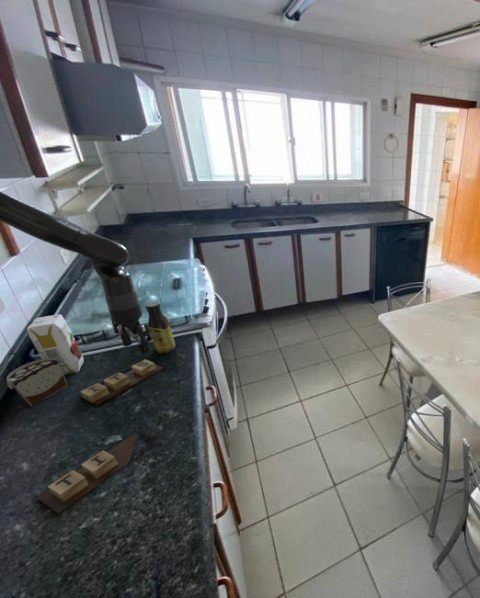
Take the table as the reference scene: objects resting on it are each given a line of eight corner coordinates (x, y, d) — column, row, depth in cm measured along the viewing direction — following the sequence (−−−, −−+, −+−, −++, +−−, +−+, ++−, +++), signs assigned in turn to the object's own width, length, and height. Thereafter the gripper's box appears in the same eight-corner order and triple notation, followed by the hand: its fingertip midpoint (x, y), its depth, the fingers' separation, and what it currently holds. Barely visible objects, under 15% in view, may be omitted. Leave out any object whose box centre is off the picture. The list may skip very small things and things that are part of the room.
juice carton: (50, 380, 105) (21, 329, 97) (58, 365, 112) (32, 317, 103) (80, 373, 108) (55, 324, 100) (87, 359, 115) (64, 312, 107)
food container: (57, 379, 105) (43, 354, 101) (73, 382, 104) (59, 356, 100) (9, 407, 94) (-9, 379, 90) (26, 410, 93) (8, 383, 89)
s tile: (142, 376, 109) (140, 369, 108) (133, 372, 110) (131, 365, 109) (155, 368, 113) (154, 362, 112) (147, 365, 114) (145, 358, 113)
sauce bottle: (153, 352, 122) (135, 305, 114) (169, 344, 127) (153, 298, 119) (165, 357, 120) (148, 309, 111) (181, 348, 125) (166, 301, 117)
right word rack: (96, 406, 97) (93, 397, 95) (80, 398, 99) (76, 389, 98) (164, 369, 114) (162, 361, 112) (149, 363, 116) (146, 355, 115)
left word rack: (59, 515, 69) (54, 505, 68) (38, 500, 72) (32, 489, 70) (155, 445, 86) (152, 435, 85) (135, 434, 89) (132, 425, 87)
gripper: (94, 303, 100) (109, 348, 107) (125, 314, 96) (139, 360, 102) (122, 295, 106) (134, 338, 113) (152, 305, 102) (163, 349, 109)
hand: (136, 348), depth 108 cm, fingers open, 8 cm apart
